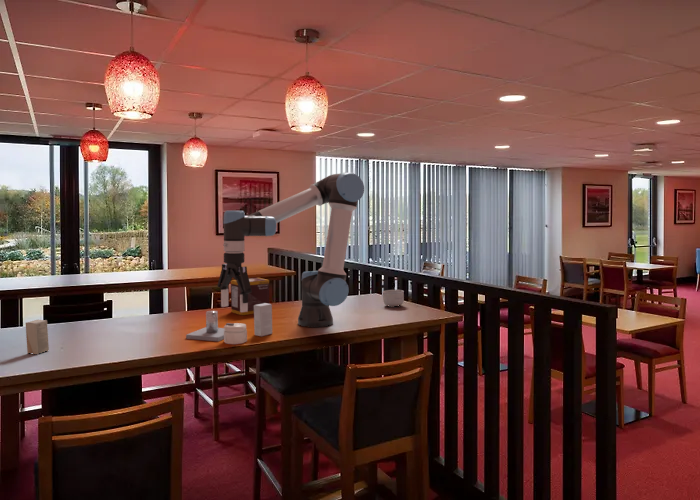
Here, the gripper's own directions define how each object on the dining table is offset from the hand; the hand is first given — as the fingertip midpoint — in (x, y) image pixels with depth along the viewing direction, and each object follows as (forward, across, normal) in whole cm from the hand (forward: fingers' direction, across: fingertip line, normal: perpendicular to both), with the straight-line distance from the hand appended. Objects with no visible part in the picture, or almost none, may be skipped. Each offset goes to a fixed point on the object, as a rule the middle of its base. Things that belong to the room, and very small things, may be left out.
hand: (234, 309), depth 194 cm
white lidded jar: (+12, 0, 0) cm, 12 cm away
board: (+12, -14, -2) cm, 18 cm away
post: (+11, -14, -2) cm, 17 cm away
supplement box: (+12, -44, +35) cm, 58 cm away
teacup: (+11, -8, +98) cm, 99 cm away
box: (+13, -32, -57) cm, 67 cm away
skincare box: (+12, -2, +14) cm, 19 cm away
